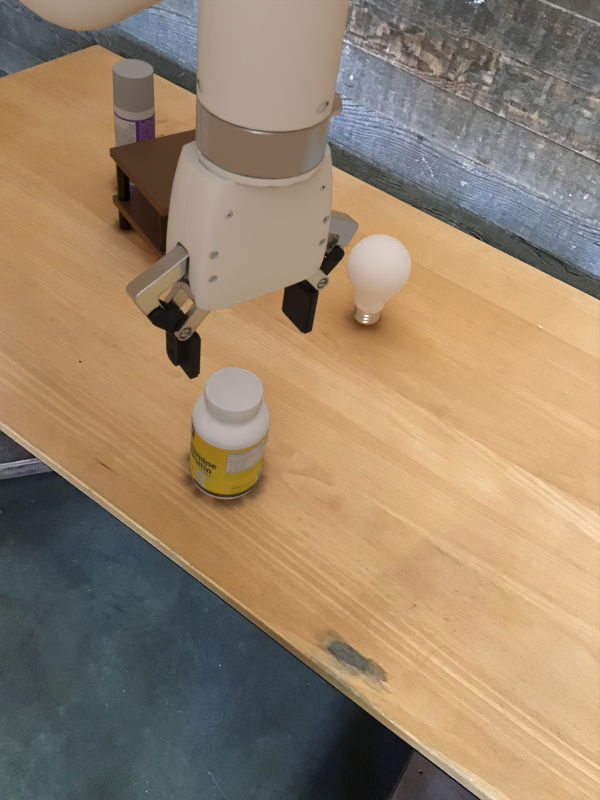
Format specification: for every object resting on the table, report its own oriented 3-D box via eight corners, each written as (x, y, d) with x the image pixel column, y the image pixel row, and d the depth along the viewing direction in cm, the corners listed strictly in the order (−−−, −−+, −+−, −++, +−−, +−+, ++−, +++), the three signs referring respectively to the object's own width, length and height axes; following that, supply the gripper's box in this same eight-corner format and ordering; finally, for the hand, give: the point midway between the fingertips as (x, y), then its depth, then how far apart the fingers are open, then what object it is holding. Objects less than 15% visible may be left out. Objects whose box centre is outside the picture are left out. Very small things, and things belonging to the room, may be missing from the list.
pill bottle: (189, 443, 70) (192, 356, 61) (259, 444, 71) (272, 358, 62) (189, 503, 66) (192, 418, 57) (263, 503, 67) (277, 420, 58)
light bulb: (355, 292, 87) (375, 212, 79) (404, 320, 85) (430, 241, 77) (323, 321, 83) (340, 240, 75) (373, 351, 81) (397, 271, 73)
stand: (162, 284, 84) (162, 208, 76) (113, 224, 89) (109, 147, 82) (268, 250, 90) (277, 177, 83) (216, 196, 96) (220, 123, 88)
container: (151, 173, 97) (150, 57, 86) (159, 194, 94) (158, 78, 83) (114, 175, 96) (108, 58, 84) (121, 197, 93) (115, 79, 82)
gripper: (342, 73, 49) (308, 279, 62) (90, 126, 41) (110, 349, 54) (417, 129, 45) (364, 336, 58) (156, 200, 37) (161, 421, 50)
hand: (242, 342), depth 56 cm, fingers open, 9 cm apart
